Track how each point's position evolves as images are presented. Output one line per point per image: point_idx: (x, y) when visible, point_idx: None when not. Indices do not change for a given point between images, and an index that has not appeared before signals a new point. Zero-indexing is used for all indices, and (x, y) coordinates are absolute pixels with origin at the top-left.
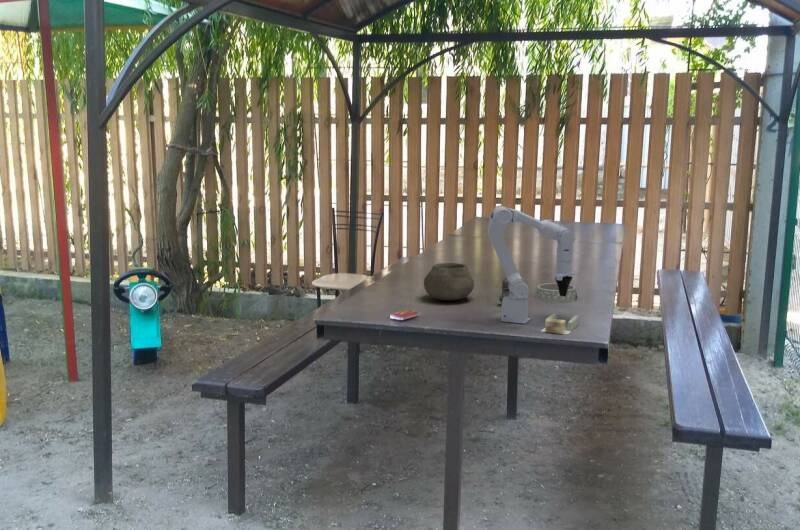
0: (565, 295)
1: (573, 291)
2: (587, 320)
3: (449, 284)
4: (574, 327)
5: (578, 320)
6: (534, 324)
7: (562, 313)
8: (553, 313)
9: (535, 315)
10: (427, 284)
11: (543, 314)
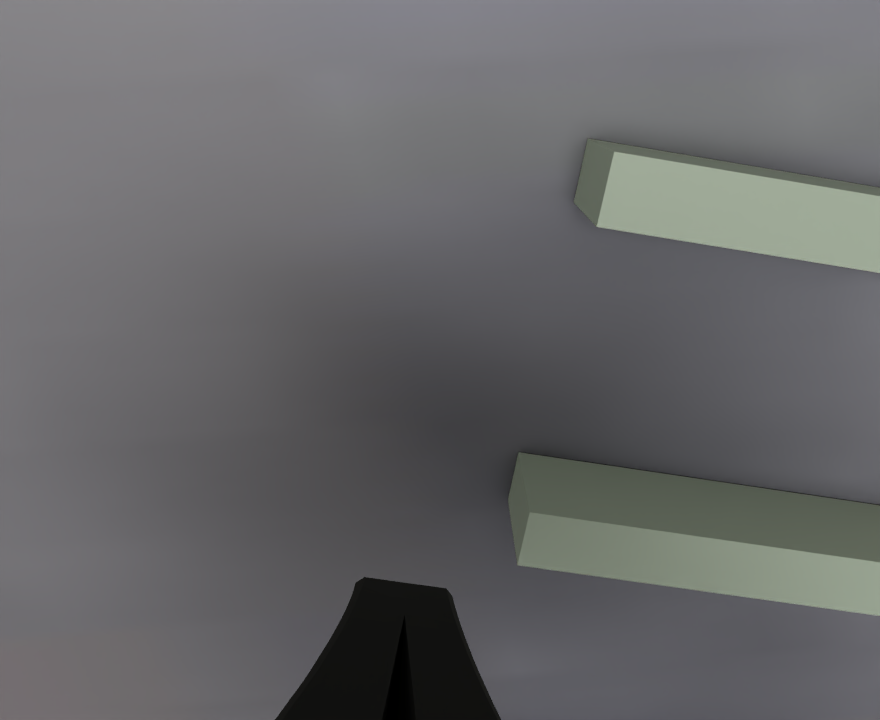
0: (451, 602)
1: None
2: (317, 2)
3: None
4: (865, 185)
5: (617, 147)
6: (725, 670)
7: (19, 415)
8: (526, 557)
9: (274, 700)
10: None
11: (185, 627)
